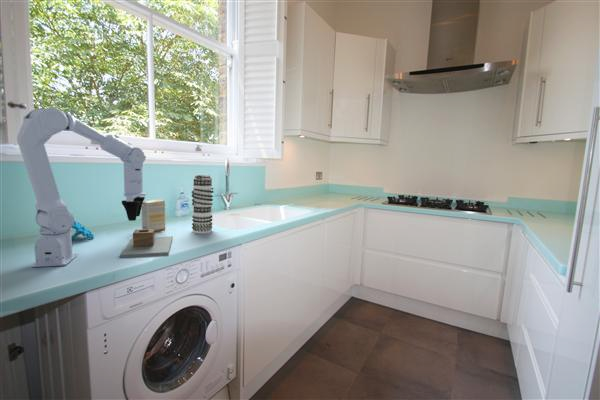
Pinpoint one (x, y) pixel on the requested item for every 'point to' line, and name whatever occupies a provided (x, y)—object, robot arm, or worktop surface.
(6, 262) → the worktop surface
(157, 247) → the hub board
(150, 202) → the supplement box
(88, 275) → the worktop surface
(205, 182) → the decorative candle
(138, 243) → the collar
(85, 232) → the gear
